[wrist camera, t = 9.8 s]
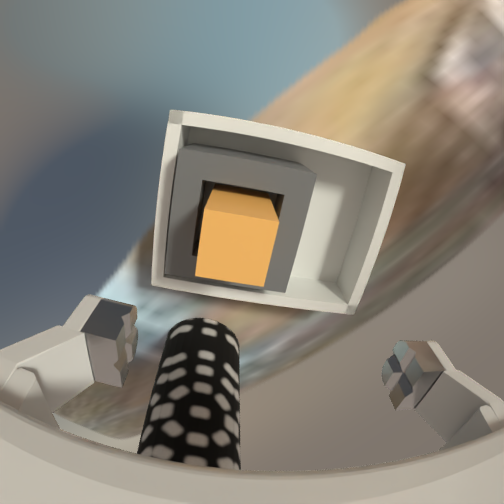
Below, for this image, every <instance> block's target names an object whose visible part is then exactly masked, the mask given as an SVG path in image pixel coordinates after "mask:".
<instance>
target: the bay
mask: <svg viewBox="0 0 504 504" xmlns="http://www.w3.org/2000/svg"><path fill="white" fill-rule="evenodd" d="M405 165H406V164H405V163H402V162H399V161H396V160H394V159H391V158H388V157H385V156H382V155H379V154H376V153H373V152H370V151H367V150H363V149H360V148H357V147H354V146H350V145H347V144H344V143H340V142H337V141H333V140H330V139H326V138H322V137H318V136H314V135H311V134H307V133H303V132H298V131H294V130H290V129H286V128H281V127H276V126H272V125H267V124H262V123H257V122H252V121H247V120H241V119H235V118H229V117H223V116H217V115H210V114H203V113H195V112H187V111H178V110H170V113H169V120H168V125H167V131H166V137H165V144H164V151H163V158H162V165H161V172H160V180H159V189H158V198H157V207H156V218H155V229H154V243H153V258H152V277H151V286H157V287H162V288H168V289H173V290H179V291H185V292H190V293H196V294H202V295H208V296H215V297H221V298H227V299H234V300H240V301H247V302H254V303H261V304H268V305H275V306H283V307H290V308H298V309H306V310H314V311H323V312H332V313H341V314H350V315H354V313H355V311H356V309H357V306H358V304H359V302H360V299H361V297H362V294H363V292H364V289H365V287H366V284H367V282H368V279H369V277H370V274H371V271H372V269H373V266H374V263H375V261H376V258H377V255H378V253H379V250H380V247H381V244H382V241H383V238H384V235H385V232H386V229H387V226H388V223H389V220H390V217H391V214H392V211H393V207H394V204H395V201H396V198H397V194H398V191H399V187H400V184H401V180H402V176H403V173H404V169H405ZM215 184H221V185H227V186H233V187H239V188H244V189H250V190H255V191H260V192H266V193H268V194H269V197H270V199H271V202H272V204H273V207H274V210H275V212H276V215H277V217H278V220H279V225H278V230H277V234H276V238H275V242H274V246H273V250H272V255H271V259H270V263H269V267H268V271H267V275H266V279H265V283H264V287H261V286H255V285H248V284H242V283H235V282H229V281H223V280H216V279H210V278H204V277H198V276H195V272H196V264H197V256H198V249H199V242H200V235H201V228H202V221H203V214H204V208H205V206H206V204H207V201H208V199H209V197H210V194H211V192H212V190H213V187H214V185H215Z"/></svg>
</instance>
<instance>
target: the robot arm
mask: <svg viewBox="0 0 504 504" xmlns="http://www.w3.org/2000/svg"><path fill="white" fill-rule="evenodd" d="M136 320H137V308H136V306H134V305H130V304H126V303H122V302H118V301H114V300H110V299H106V298H102V297H98V296H94V295H90V294H89V295H86V296H85V297H84V298H83V300H82V301H81V302H80V304H79V305H78V306H77V308H76V309H75V310H74V312H73V313H72V314H71V316H70V317H69V318H68V320H67V321H66V323H65V324H64V325H63V327H62V326H59V325H58V326H55V327H53V328H50V329H48V330H46V331H43V332H41V333H39V334H36V335H34V336H32V337H29V338H27V339H24V340H22V341H20V342H17V343H15V344H13V345H11V346H8V347H6V348H3V349H1V350H0V504H504V402H503V401H502V399H500V398H499V397H497V396H496V395H494V394H493V393H492V392H490V391H489V390H487V389H486V388H484V387H482V386H481V385H480V384H478V383H477V382H476V381H474V380H472V379H471V378H470V377H468V376H467V375H465V374H464V373H462V372H461V371H459V370H456V369H455V368H454V366H453V365H452V363H451V362H450V360H449V359H448V357H447V356H446V355H445V353H444V352H443V350H442V349H441V347H440V346H439V345H438V343H437V342H435V341H402V340H400V341H399V342H398V343H396V345H395V347H394V348H393V355H392V356H391V357H390V358H388V359H387V360H386V362H385V364H384V366H383V369H382V381H383V383H384V385H385V386H386V387H387V388H388V389H389V390H390V394H389V397H390V399H391V402H392V404H393V406H394V409H395V410H406V409H414V410H415V411H416V412H417V413H418V414H419V415H420V416H421V417H422V418H423V419H424V420H425V421H426V422H427V423H428V424H429V425H430V427H431V428H432V429H434V431H436V432H437V434H438V435H439V436H441V437H442V439H443V440H444V441H445V442H446V444H444V445H443V446H442V447H441V448H440V449H439V451H436V452H432V453H428V454H424V455H420V456H416V457H411V458H406V459H402V460H397V461H392V462H386V463H380V464H373V465H366V466H359V467H351V468H341V469H330V470H315V471H251V470H236V469H225V468H215V467H206V466H199V465H192V464H185V463H179V462H174V461H168V460H163V459H158V458H153V457H149V456H144V455H140V454H136V453H132V452H128V451H124V450H121V449H117V448H114V447H110V446H107V445H103V444H100V443H97V442H94V441H91V440H88V439H85V438H82V437H79V436H77V435H74V434H71V433H68V432H66V431H63V430H61V429H60V428H59V425H58V424H57V422H56V420H55V418H54V416H53V414H52V413H53V412H55V411H56V410H57V409H59V408H60V407H62V406H63V405H64V404H66V403H67V402H68V401H70V400H71V399H73V398H74V397H75V396H77V395H78V394H79V393H81V392H82V391H83V390H85V389H86V388H88V387H89V386H90V385H92V384H93V383H94V381H97V382H101V383H105V384H108V385H112V386H117V387H121V388H122V387H123V384H124V382H125V379H126V376H127V374H128V363H129V362H130V361H132V360H133V358H134V355H135V352H136V347H137V340H138V330H137V328H136V327H135V326H134V324H135V322H136Z"/></svg>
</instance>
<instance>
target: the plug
mask: <svg viewBox="0 0 504 504" xmlns="http://www.w3.org/2000/svg"><path fill="white" fill-rule="evenodd" d="M278 225H279V220H278V217H277V215H276V212H275V210H274V207H273V204H272V202H271V199H270V197H269V194H268V193H266V192H260V191H255V190H250V189H244V188H239V187H233V186H227V185H221V184H215V185H214V187H213V190H212V192H211V194H210V197H209V199H208V201H207V204H206V206H205V208H204V214H203V221H202V228H201V235H200V242H199V249H198V256H197V264H196V272H195V276H198V277H204V278H210V279H216V280H223V281H229V282H235V283H242V284H248V285H255V286H261V287H264V283H265V279H266V275H267V271H268V267H269V263H270V259H271V255H272V250H273V246H274V242H275V238H276V234H277V230H278Z"/></svg>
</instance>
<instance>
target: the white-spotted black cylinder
mask: <svg viewBox="0 0 504 504" xmlns="http://www.w3.org/2000/svg"><path fill="white" fill-rule="evenodd" d="M239 398H240V393H239V343H238V339H237V338H236V336H235V334H234V333H233V332H232V331H231V330H230V329H229V328H227V327H226V326H225V325H223V324H221V323H219V322H217V321H214V320H210V319H205V318H193V319H188V320H184V321H182V322H180V323H178V324H176V325H175V326H174V327H173V328H172V329H171V330H170V332H169V334H168V337H167V340H166V343H165V347H164V350H163V354H162V357H161V361H160V364H159V368H158V371H157V375H156V379H155V382H154V386H153V390H152V394H151V398H150V401H149V405H148V409H147V413H146V417H145V421H144V425H143V430H142V434H141V438H140V442H139V447H138V451H137V454H140V455H144V456H149V457H153V458H158V459H163V460H168V461H174V462H179V463H185V464H192V465H199V466H206V467H215V468H225V469H236V470H241V467H240V403H239V402H240V400H239Z"/></svg>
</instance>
